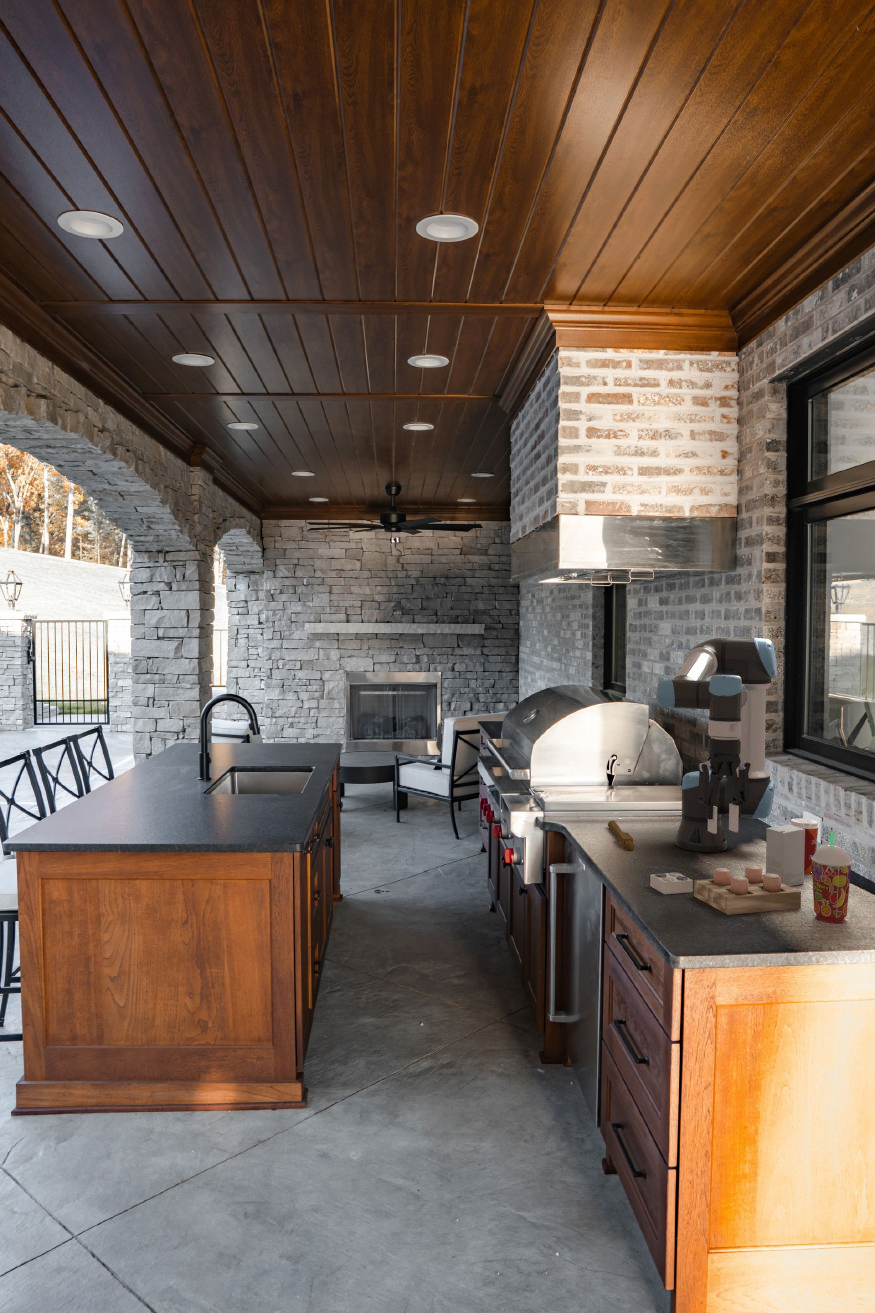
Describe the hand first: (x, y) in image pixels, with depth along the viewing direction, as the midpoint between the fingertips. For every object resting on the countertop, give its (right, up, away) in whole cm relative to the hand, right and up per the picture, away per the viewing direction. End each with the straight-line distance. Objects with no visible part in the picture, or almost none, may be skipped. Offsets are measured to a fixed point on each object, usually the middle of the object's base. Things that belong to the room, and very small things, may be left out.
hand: (722, 831), depth 201 cm
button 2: (+2, -13, -6) cm, 15 cm away
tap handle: (-12, -16, +60) cm, 63 cm away
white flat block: (-10, -16, +8) cm, 21 cm away
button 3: (+9, -13, +3) cm, 16 cm away
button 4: (+10, -13, -4) cm, 17 cm away
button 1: (0, -13, 0) cm, 13 cm away
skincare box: (+21, -17, +14) cm, 30 cm away
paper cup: (+31, -17, +26) cm, 44 cm away
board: (+5, -17, -2) cm, 18 cm away
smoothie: (+20, -17, -13) cm, 30 cm away
